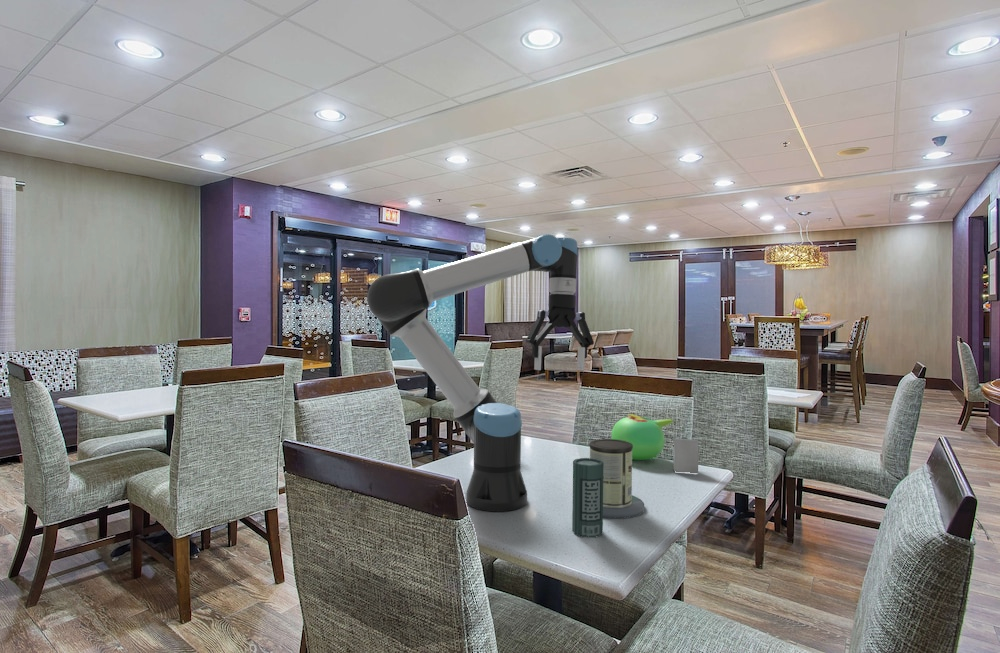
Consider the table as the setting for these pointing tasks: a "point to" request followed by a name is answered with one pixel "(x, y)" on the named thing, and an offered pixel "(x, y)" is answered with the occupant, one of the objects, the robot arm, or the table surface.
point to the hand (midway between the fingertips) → (559, 370)
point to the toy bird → (641, 435)
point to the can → (587, 497)
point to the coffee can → (614, 471)
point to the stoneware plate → (625, 510)
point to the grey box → (685, 455)
